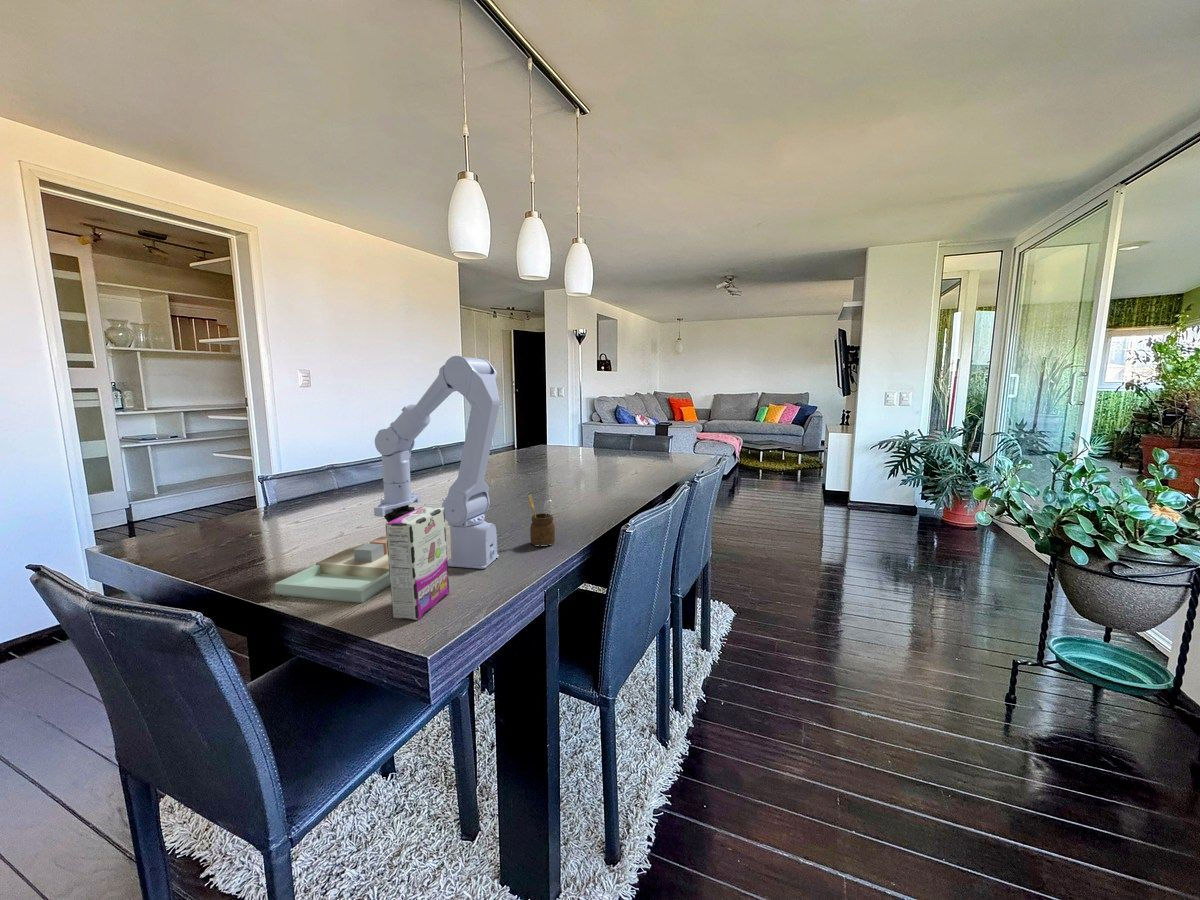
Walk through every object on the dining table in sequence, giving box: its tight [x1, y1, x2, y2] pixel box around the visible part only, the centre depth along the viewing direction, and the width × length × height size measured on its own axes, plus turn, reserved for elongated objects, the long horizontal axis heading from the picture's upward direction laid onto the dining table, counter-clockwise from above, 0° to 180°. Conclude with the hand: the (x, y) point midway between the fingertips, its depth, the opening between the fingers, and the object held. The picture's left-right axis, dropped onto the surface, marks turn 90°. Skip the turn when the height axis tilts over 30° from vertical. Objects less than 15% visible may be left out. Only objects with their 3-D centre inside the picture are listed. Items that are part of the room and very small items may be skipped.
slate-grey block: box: [354, 543, 384, 562], centre depth 102 cm, size 4×4×2 cm
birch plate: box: [315, 543, 389, 578], centre depth 105 cm, size 18×13×2 cm
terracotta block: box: [369, 536, 388, 554], centre depth 107 cm, size 4×4×2 cm
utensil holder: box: [527, 494, 556, 546], centre depth 119 cm, size 6×6×12 cm
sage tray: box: [274, 564, 390, 604], centre depth 93 cm, size 18×10×2 cm, turn 79°
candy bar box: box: [385, 506, 450, 621], centre depth 85 cm, size 11×5×16 cm, turn 170°
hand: (400, 539), depth 113 cm, fingers closed
